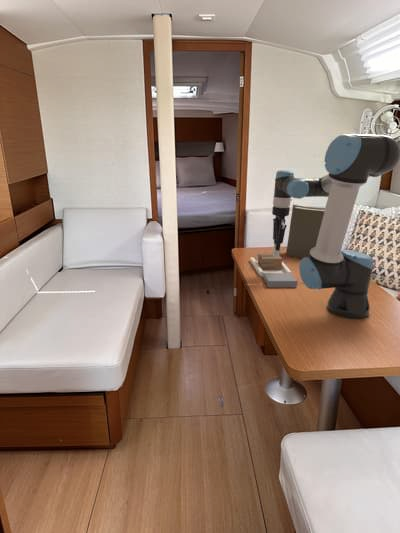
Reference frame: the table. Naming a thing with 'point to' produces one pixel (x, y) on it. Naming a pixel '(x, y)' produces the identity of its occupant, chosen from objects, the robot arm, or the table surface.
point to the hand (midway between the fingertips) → (276, 256)
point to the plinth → (279, 280)
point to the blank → (269, 262)
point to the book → (304, 230)
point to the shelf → (255, 263)
